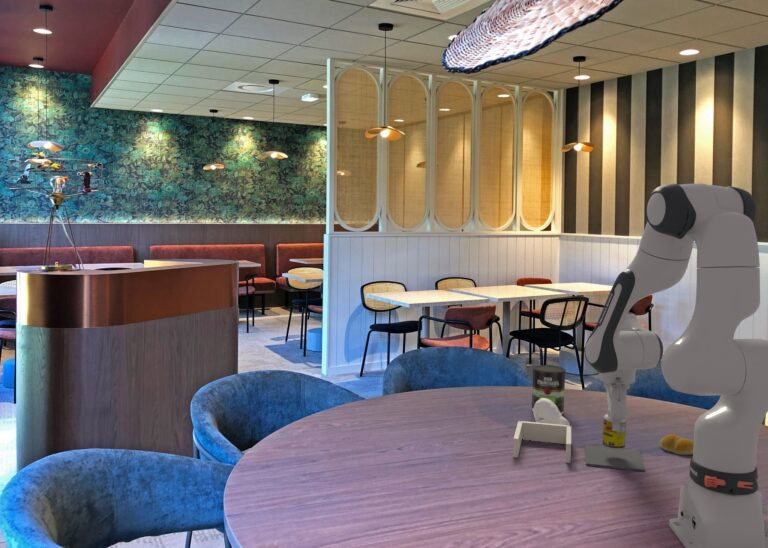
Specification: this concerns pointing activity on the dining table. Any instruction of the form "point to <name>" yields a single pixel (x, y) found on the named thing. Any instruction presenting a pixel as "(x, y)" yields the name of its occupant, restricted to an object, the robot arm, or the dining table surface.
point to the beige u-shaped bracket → (542, 435)
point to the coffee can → (549, 385)
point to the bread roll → (677, 444)
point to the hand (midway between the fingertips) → (614, 426)
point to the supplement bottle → (613, 434)
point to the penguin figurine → (548, 413)
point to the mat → (614, 458)
